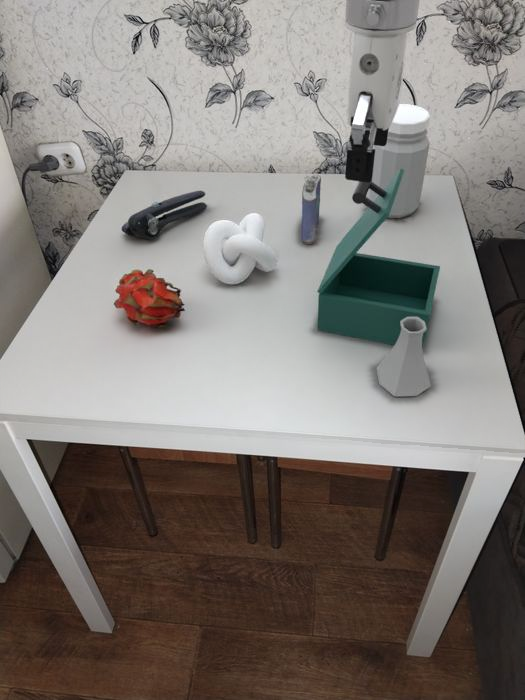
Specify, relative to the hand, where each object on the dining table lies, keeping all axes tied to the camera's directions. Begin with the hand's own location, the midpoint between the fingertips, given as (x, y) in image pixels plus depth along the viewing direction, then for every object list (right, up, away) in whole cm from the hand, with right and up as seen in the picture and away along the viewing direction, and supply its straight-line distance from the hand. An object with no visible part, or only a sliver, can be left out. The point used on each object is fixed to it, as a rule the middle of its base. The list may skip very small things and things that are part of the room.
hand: (366, 161), depth 74 cm
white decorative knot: (-16, -11, +26) cm, 32 cm away
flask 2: (-4, -2, +34) cm, 34 cm away
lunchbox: (+4, -18, +16) cm, 25 cm away
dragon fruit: (-30, -19, +18) cm, 40 cm away
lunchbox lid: (+1, -8, +7) cm, 11 cm away
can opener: (-31, 0, +37) cm, 48 cm away
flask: (+6, -28, +7) cm, 29 cm away
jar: (+12, +4, +39) cm, 41 cm away
